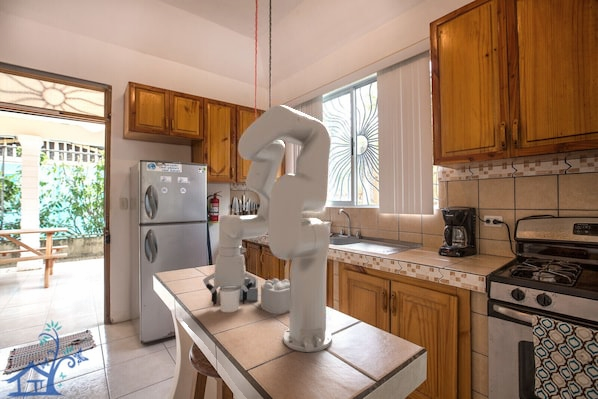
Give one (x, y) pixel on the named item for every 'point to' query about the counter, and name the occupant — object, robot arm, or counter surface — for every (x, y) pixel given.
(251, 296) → the bin
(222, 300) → the white cylinder
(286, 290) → the lumpy-topped squat cylinder
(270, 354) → the counter surface
